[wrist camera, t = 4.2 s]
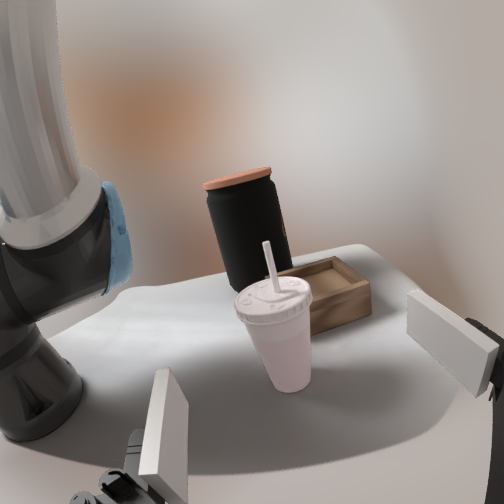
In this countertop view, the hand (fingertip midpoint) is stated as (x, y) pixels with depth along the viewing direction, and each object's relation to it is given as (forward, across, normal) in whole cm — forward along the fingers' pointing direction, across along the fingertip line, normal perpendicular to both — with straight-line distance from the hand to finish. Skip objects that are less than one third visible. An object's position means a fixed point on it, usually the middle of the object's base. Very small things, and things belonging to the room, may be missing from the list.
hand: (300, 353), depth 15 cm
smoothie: (+10, 0, -11) cm, 15 cm away
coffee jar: (+34, +2, -10) cm, 36 cm away
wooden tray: (+21, +7, -10) cm, 25 cm away
